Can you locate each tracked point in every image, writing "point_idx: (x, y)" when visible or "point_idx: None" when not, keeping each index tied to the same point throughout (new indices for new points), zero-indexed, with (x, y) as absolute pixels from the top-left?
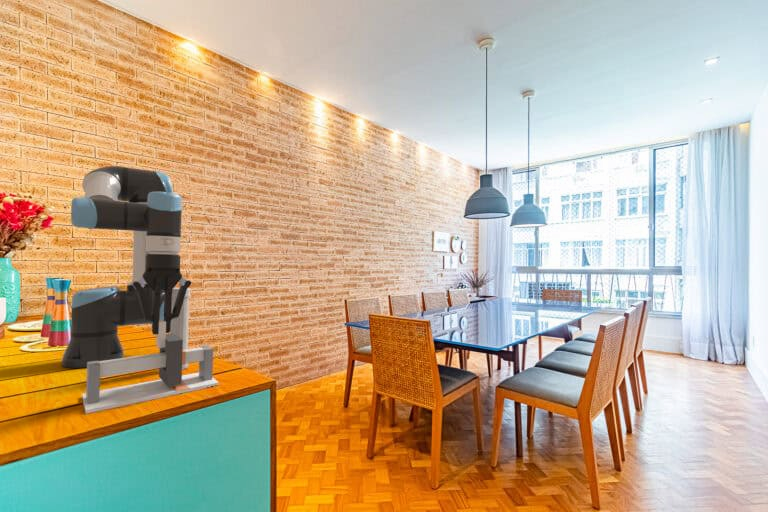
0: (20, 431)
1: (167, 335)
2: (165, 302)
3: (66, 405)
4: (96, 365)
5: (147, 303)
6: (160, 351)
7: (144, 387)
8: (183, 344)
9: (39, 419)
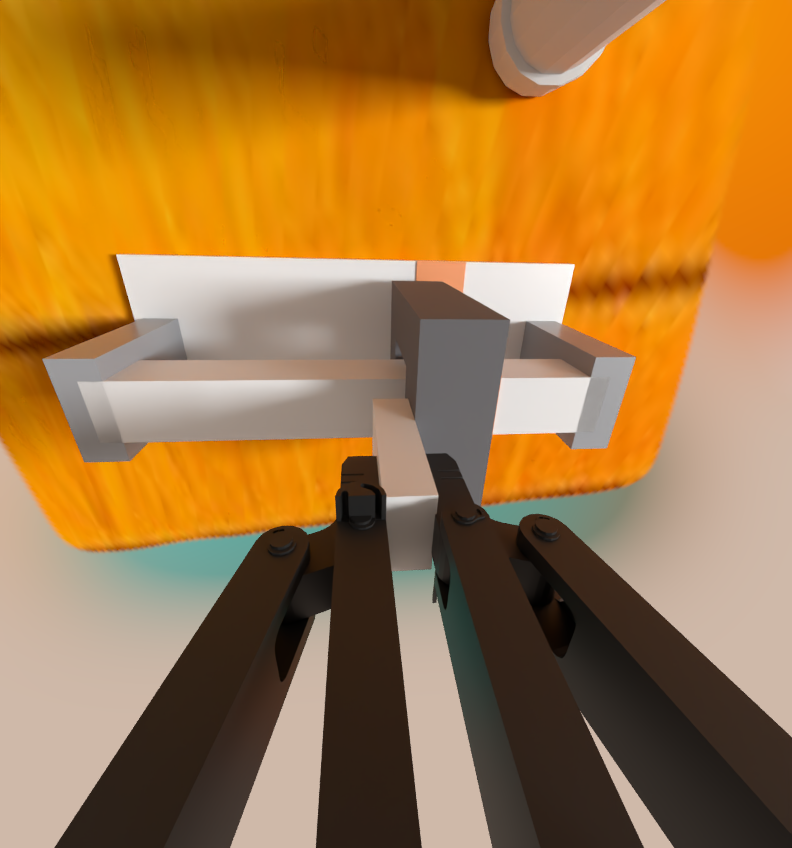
0: (40, 461)
1: (452, 384)
2: (479, 744)
3: (93, 319)
4: (112, 454)
5: (247, 797)
6: (404, 325)
7: (331, 332)
8: (632, 21)
9: (53, 403)
